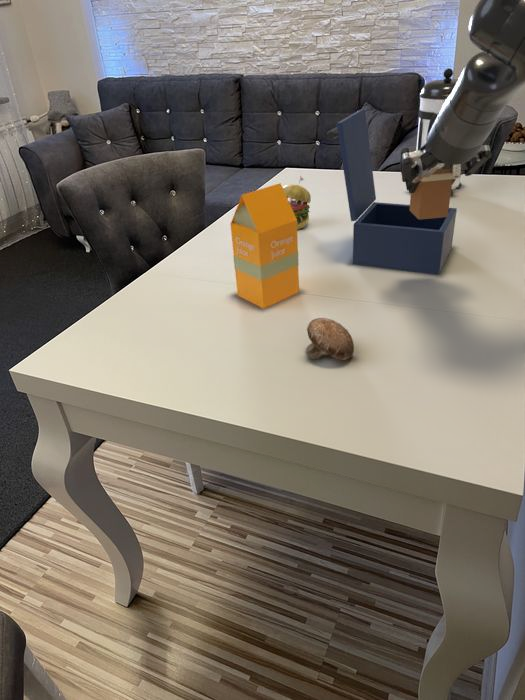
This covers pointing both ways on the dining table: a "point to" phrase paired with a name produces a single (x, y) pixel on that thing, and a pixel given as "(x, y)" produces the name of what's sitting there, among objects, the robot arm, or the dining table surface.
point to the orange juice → (265, 247)
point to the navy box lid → (356, 162)
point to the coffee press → (434, 109)
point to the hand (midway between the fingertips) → (426, 186)
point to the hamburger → (298, 202)
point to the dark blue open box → (402, 239)
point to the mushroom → (329, 340)
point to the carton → (432, 195)
